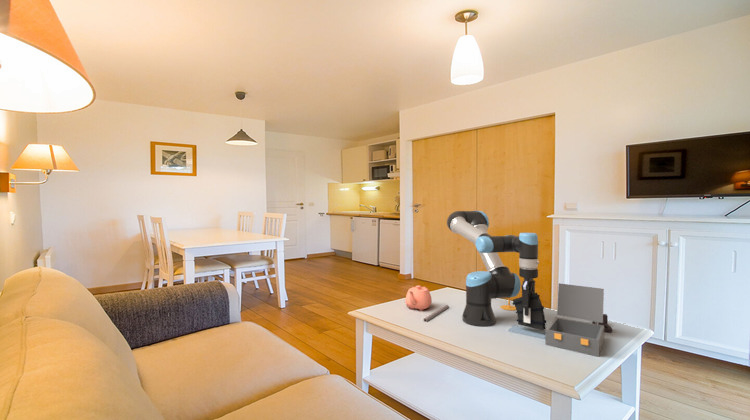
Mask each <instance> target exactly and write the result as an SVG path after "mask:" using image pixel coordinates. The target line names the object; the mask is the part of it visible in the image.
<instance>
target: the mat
mask: <svg viewBox="0 0 750 420" xmlns="http://www.w3.org/2000/svg"><path fill="white" fill-rule="evenodd" d="M507 331H508V332H510V333H514V334H517V335H518V334H519V335H524V336H529V337H532V338H536V339H542V340H546V330H539V329H535V328H531V327H527V326H522V325H517V324H516V325H515V324H513V325H512V326H510V328H508V329H507Z"/></svg>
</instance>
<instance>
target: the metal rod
mask: <svg viewBox="0 0 750 420" xmlns="http://www.w3.org/2000/svg"><path fill="white" fill-rule="evenodd" d="M449 308H450V306H449V305H448V304H445V305H443V306H442V307H441V308H439V309H437V310H435V311H433V312H432V313H431V314H428V316H425V318H423V320H422V321H423V322H426V323H427V322H429V321H430V320H432V319H434V318H435V317H436V316H439V315H440V314H442V313H443V312H444V311H446V310H448V309H449Z"/></svg>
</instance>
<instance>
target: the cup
mask: <svg viewBox="0 0 750 420" xmlns="http://www.w3.org/2000/svg"><path fill="white" fill-rule="evenodd" d="M507 299H508V300H507V302H508V303H507V305H506V304H503V305H501V306H500V309H502V310H504V311H517V310H516V307H515V305H511V297H510V298H507Z"/></svg>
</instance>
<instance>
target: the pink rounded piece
mask: <svg viewBox="0 0 750 420" xmlns="http://www.w3.org/2000/svg"><path fill="white" fill-rule="evenodd" d="M404 303H405V305H406V307H408V309H409V310H414V309H418V311H419V312H423V311H424V310H425V309H428V308H429V307H431V305H432V295H431V293H430V290H429V288H427V287H426V286H421V285H415V286H412V287H411V288H409V289H408V291H407V292H406V296H405V301H404Z"/></svg>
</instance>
